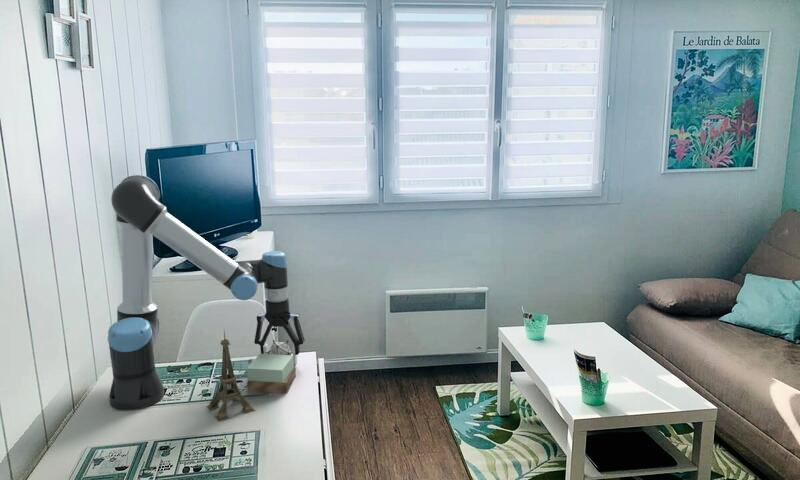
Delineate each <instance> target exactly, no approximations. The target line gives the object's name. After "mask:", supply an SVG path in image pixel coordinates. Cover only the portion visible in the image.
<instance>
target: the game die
mask: <svg viewBox="0 0 800 480" xmlns="http://www.w3.org/2000/svg"><path fill="white" fill-rule="evenodd" d="M272 342H273V343H272V345H271V347H270V348H269V349H268V352H266V354H267V353H268V354H274V355H293V353H292V350H291V349H292V348H291V347H290V346H289V339H288V340H286V341H275V340H274V339H272Z"/></svg>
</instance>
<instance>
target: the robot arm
mask: <svg viewBox="0 0 800 480" xmlns="http://www.w3.org/2000/svg"><path fill="white" fill-rule="evenodd" d="M160 192H161V191H160V189H159V187H158V184H157V183H156V182H155V181H154V180H153V179H152V178H150V177H148V176H146V175H142V174H140V175H139V174H136V175H134V174H133V175H130V176H127V177H125V178H124V179H122V180H121V182H120V183H118V185H117V186H116V187H115V188H114V189H113V191H112V194H111V197H110V198H111V206H112V209H113V210H114V212H115V214H116V222H117V223H118V224H119V225H120V226H121V240H122V241H121V245H122V247H121V248H122V249H121V254H122V257H121V258H122V259H121V263H122V265H121V269H122V271H121V273H122V275H121V277H122V279H121V280H122V283H121V284H122V286H121V287H122V302H121V303H120V304H119V305H118V306H117V307H116V308H117V310H116V315H117V316H116V318H117V319H116V320H117V321H116V322H114V323H112V325H110V326H109V329H108V332H107V334H108V336H107V341H108V342H107V343H108V347H109V354H110V355H109V356H110V361H111V370H112V382H111V387H110V391H109V395H108V396H109V397H108V400H109V405H110V406H111V408H114V409H116V410H118V411H119V410H120V411H133V410H139V409H144V408H147V407H149V406H152V405H154V404H156V403H158V402H159V401H162V399H163V398H164V396H165V388H164V385H163V383H162V381H161V379H160V377H159V374H158V372H157V371H156V362H155V353H154V345H155V343H156V342H155V341H156V339H157V335H158V333H159V330H160V321H159V318H158V305H157V303H155V302H154V301H153V261H154V260H153V255H154V254H153V251H154V250H153V243H154V242H153V237H155V238H156V239H158V240H159V241H161V242H162V243H163V244H165V245H166V246H168V247H169V248H171V249H172V250H173V251H175V252H176V253H177V254H179V255H181V256H182V257H183V258H184V259H186V260H188V261H189V262H190V263H192V264H193V265H195V266H196V267H197V268H199V269H201V270H202V271H203V272H204V273H206V274H207V275H209V276H210V277H212V278H213V279H215V280H216V281H217V282H219V283H220V284H222V285H223V286H224V287H226V288H227V289H228V290H230V291H231V293H232V295H233V296H234V298H236V299H238V300H240V301H249V300H250V299H252V298H253V297H254V296H255V295H256V294H257V292H258V291H257V290H258V284H262V283H263V286H264V299H265V301H264V303H265V304H264V305H265V313H264V314H262V313H258V314H257V316H256V322H257V324H256V329H255V335H254V341H253V343H254V344H255V345H259V346H260V347H259V348H260V354H266V352H268V351H269V346H268V343H267V342H266V341H267V340H268V338H269V334H270V333H271V330H272V328H273V327H274V328H275V327H280V328H282V327H283V329H284V330H285V332H286V334H287V335H288V337H289V339H290V340H291V342H292V344H293V345H292V346H291V349H292V350H291V351H292V355H293V361H294V366H296V365H297V363H298V355H299V354H300V351H301V349H300V345H304V342H305V340H306V339H305V336H304V332H303V329H302V326H301V324H300V314H299V313H296V314H294V313H293V314H292V313H291V312H290V302H289V301H290V300H289V286H288V285H289V284H288V281H289V280H288V266H287V265H288V264H287V258H286V257H287V256H286V254H285V253H284V252H283V251H280V250H272V251H267V252H264V253H263V254H262V256H261V258H260V259H253V260H252V259H251V260H240V261H237V260H233V259H232V258H231V257H229V256H228V255H226V254H225V253H224V252H222V251H221V250H220V249H218V248H217V247H216V246H214V245H213V244H212V243H210V241H209V242H208V240H205V238H204V237H202V236H200V235H199V234H198V233H196V232H195V231H194V230H192V229H191V228H190V227H188V226H187V225H186V224H185V223H182V221H180V220H179V219H178V218H176V217H175V216H173V215H172V214H171V213H169V212H168V210H167V206H166V205H164V204H163V203H161V202H160V199H161V193H160ZM265 319H266V321H267V323H268V325H267V327H266V330H265V331H264V334H263V336H262V338H261V334H262V329H263V323H264V321H265ZM290 319H291V321H292V322H293V325H294V328H295V332H296V333H295V332H294V330H293V328H292V326H291V324H290V323H291V322H289V320H290ZM267 354H268V353H267Z"/></svg>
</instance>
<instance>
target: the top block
mask: <svg viewBox="0 0 800 480" xmlns="http://www.w3.org/2000/svg"><path fill="white" fill-rule="evenodd" d="M294 366H295V365H294V361H293V354H291V355H274V354H261V353H259V354H257V356H256V357H255V359H253V361H252V362H251V363H250V364H249V365H248V366H247V367H246V372H247V373H246V374H247V382H248V381H264V382H281V383H283V382H284V380H285V379H286V377H287V376H288V375H289V373H290V372H291V370H292V369H293V368H294Z"/></svg>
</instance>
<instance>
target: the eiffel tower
mask: <svg viewBox="0 0 800 480" xmlns="http://www.w3.org/2000/svg"><path fill="white" fill-rule="evenodd" d="M220 345H221V346H222V357H221V358H222V360H221V374H220V375H219V377H218V378H219V380H220V383H219V387H218V389H216V390H217V392H216V394H215V395H214V397H213V398H212V399H211V400H210V402H209V404H208V405H206V409H208V411H211V410H215V409H219V410H218V412H217V415H216V416H215V419H216V420H217V421H218V422H220V421H225V420H228V419H229V416H228V415H227V411H228V410H227V408H228V407H227V406H228V405H227V404H228V403H229V402H230V401H233V402H235V403H239V404H240V405H241V406H242V407H241V409H242V411H243V412H244V414H249V413H252V412H255V411H256V408H254V407H253V406H252V405H250V403H249V402H248V401H247V400H246V398H245V397H244V396H243V395H242V391H241V390H240V389H239V386H238V384H237V380H238V377H237V376H236V375H235V372H234V369H233V368H234V367H233V363H232V360H231V353H230V349H229V346H230V345H231V343H230V341H229V339H227V338H226V332H225V330H223V339H222V340H220ZM228 385H230V386H228ZM220 402H221V403H222V404H221V406H219V404H220Z"/></svg>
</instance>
